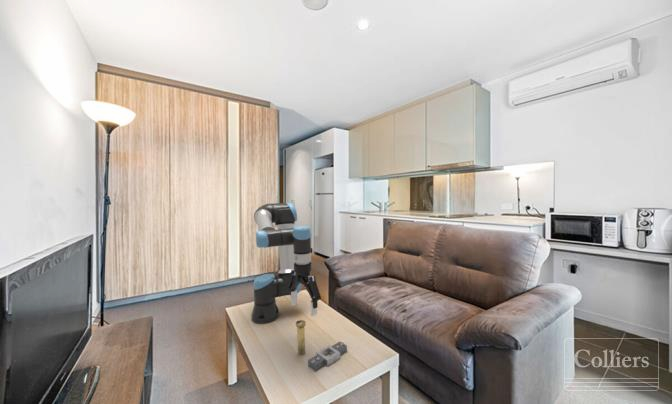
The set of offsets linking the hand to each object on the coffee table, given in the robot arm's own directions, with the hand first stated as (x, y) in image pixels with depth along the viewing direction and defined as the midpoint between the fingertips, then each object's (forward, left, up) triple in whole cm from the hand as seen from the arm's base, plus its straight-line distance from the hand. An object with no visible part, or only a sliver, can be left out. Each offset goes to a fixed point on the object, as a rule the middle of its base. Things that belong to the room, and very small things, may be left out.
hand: (303, 309), depth 112 cm
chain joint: (+11, +5, -19) cm, 22 cm away
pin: (0, -1, -19) cm, 19 cm away
